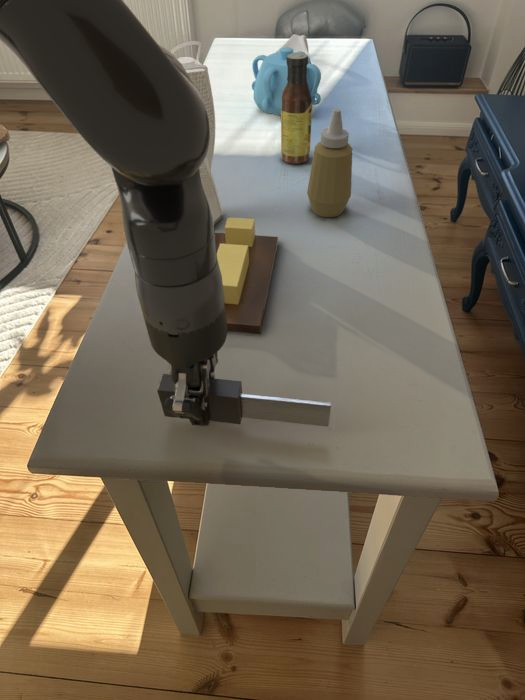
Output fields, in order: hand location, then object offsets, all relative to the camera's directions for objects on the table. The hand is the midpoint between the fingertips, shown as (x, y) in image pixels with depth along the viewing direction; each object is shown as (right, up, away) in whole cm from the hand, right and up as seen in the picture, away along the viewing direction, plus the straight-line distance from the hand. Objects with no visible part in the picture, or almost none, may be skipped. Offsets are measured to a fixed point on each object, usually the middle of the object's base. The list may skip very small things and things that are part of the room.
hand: (203, 411), depth 56 cm
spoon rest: (+16, +92, +88) cm, 128 cm away
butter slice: (+3, +26, +25) cm, 36 cm away
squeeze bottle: (+19, +34, +34) cm, 52 cm away
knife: (+5, 0, 0) cm, 5 cm away
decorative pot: (+13, +69, +67) cm, 97 cm away
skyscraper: (-4, +31, +33) cm, 45 cm away
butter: (+2, +18, +18) cm, 25 cm away
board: (+2, +18, +20) cm, 27 cm away
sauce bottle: (+14, +49, +49) cm, 70 cm away
